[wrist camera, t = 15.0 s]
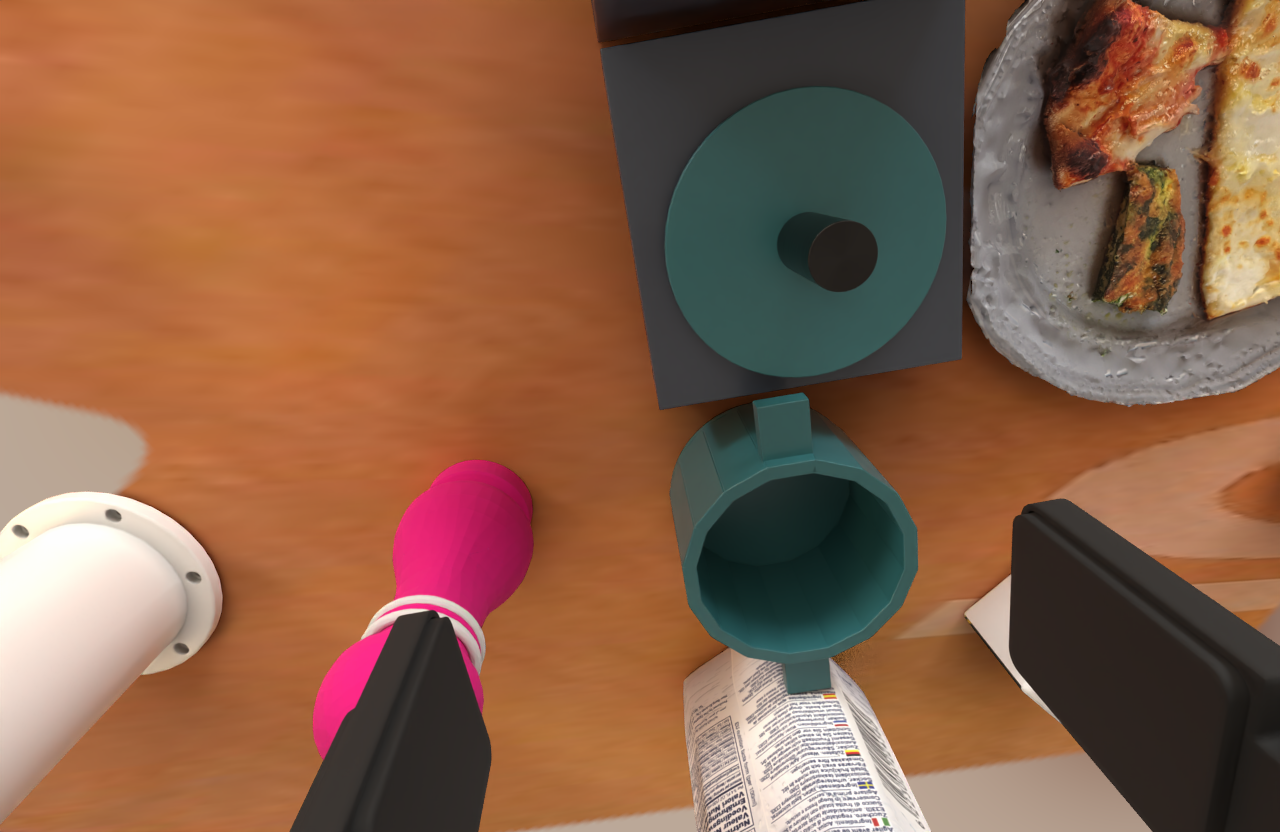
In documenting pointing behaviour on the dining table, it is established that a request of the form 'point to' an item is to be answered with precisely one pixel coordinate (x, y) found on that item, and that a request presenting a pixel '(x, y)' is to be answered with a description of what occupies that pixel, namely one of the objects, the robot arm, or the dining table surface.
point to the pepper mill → (442, 576)
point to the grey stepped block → (737, 76)
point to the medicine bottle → (999, 632)
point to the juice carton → (789, 754)
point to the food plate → (1131, 196)
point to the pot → (789, 537)
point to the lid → (805, 231)
